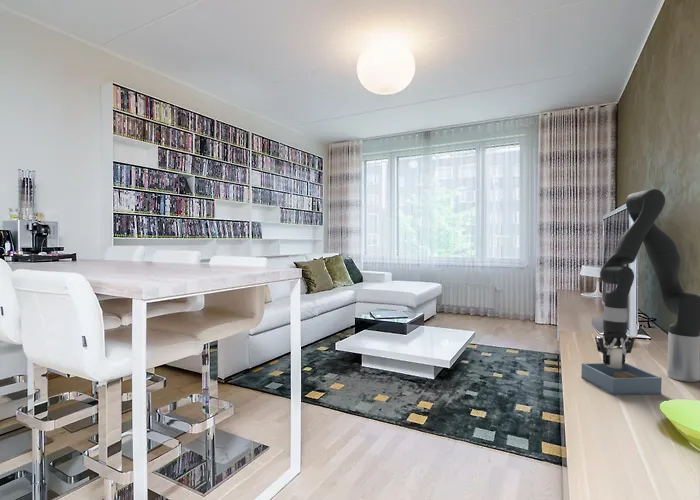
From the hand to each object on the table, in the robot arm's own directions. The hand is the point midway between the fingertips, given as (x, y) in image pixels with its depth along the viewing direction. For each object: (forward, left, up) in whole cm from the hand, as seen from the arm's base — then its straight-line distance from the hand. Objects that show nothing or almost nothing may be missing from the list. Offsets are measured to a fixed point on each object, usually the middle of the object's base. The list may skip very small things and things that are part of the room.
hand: (613, 363), depth 146 cm
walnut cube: (+1, +7, -6) cm, 9 cm away
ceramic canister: (0, 0, -1) cm, 1 cm away
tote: (0, +3, -7) cm, 8 cm away
